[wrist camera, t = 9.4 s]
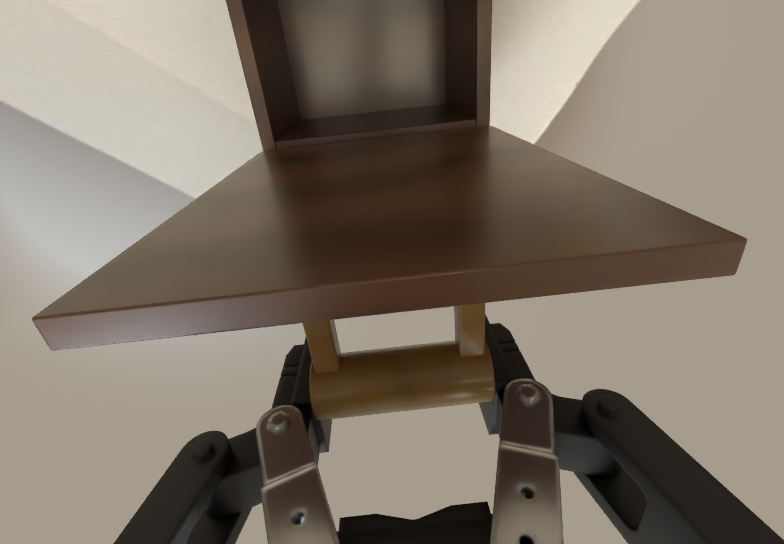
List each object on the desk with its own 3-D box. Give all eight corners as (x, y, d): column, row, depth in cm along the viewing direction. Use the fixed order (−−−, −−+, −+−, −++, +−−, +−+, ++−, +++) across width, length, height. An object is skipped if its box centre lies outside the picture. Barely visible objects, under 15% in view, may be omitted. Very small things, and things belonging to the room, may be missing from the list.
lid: (28, 318, 7) (142, 496, 10) (750, 238, 7) (680, 436, 10) (261, 151, 23) (282, 236, 25) (491, 125, 23) (490, 213, 25)
